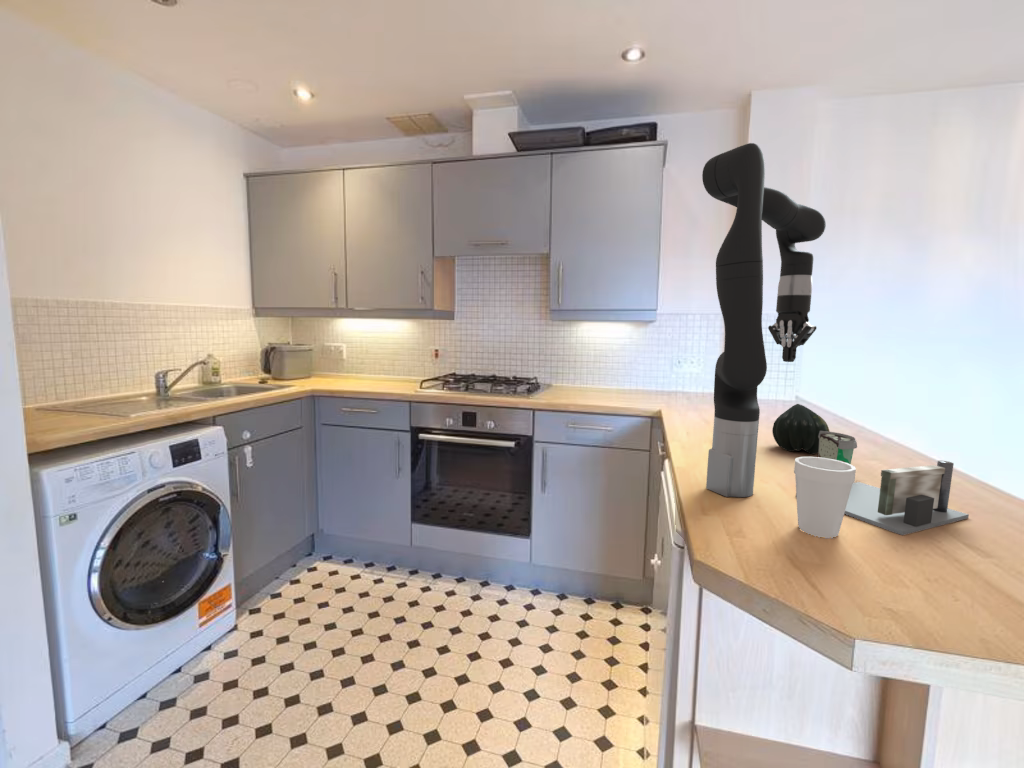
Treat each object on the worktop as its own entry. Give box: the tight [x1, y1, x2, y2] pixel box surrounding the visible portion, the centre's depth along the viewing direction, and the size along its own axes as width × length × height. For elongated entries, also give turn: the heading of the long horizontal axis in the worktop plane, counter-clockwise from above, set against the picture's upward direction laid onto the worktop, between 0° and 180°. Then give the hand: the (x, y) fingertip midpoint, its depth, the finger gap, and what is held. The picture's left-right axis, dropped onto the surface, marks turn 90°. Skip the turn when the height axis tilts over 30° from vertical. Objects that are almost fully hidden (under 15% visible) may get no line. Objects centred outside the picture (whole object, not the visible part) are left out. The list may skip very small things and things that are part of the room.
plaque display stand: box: [844, 460, 970, 536], centre depth 100 cm, size 22×21×11 cm
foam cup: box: [793, 456, 857, 539], centre depth 87 cm, size 10×9×13 cm
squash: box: [771, 403, 831, 455], centre depth 146 cm, size 14×15×15 cm
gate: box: [878, 464, 945, 515], centre depth 94 cm, size 14×2×9 cm, turn 106°
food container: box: [817, 431, 858, 465], centre depth 123 cm, size 12×6×10 cm, turn 168°
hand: (788, 361), depth 122 cm, fingers closed
